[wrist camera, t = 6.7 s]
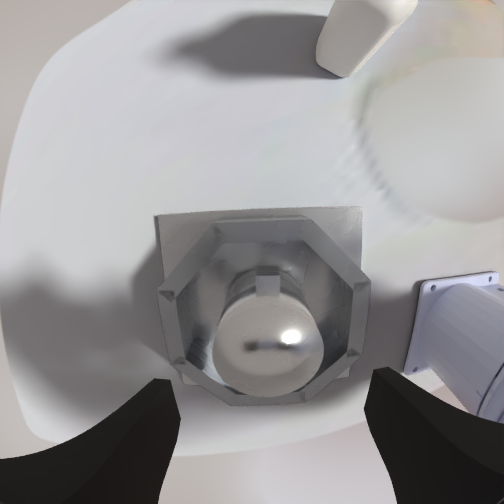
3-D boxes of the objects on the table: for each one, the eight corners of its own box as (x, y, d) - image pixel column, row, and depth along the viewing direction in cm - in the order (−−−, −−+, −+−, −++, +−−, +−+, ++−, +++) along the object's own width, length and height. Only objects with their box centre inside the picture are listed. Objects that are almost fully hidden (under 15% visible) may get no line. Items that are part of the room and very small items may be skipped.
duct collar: (359, 206, 16) (380, 210, 13) (346, 373, 18) (358, 398, 15) (160, 215, 16) (140, 219, 13) (184, 381, 18) (175, 407, 15)
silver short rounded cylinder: (301, 339, 17) (317, 394, 11) (227, 340, 17) (216, 396, 12) (306, 253, 16) (330, 283, 10) (223, 253, 16) (206, 284, 10)
